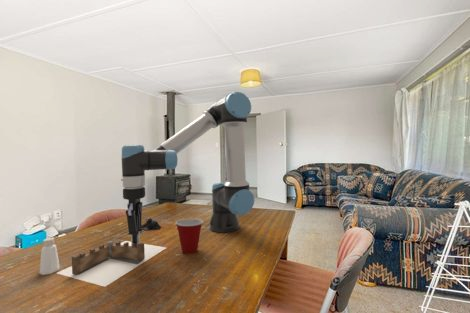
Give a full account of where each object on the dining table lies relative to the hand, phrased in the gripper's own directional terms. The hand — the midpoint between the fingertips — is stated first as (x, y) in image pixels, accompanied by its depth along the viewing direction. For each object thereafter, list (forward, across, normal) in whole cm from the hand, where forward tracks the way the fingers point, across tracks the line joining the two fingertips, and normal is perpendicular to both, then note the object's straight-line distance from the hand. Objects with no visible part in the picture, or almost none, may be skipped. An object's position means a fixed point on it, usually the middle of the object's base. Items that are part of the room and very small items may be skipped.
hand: (136, 250), depth 84 cm
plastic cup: (+3, -3, +20) cm, 20 cm away
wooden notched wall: (+2, 0, -4) cm, 4 cm away
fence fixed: (+2, +4, -13) cm, 14 cm away
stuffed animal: (+4, -32, -3) cm, 33 cm away
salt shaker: (+3, +4, -26) cm, 27 cm away
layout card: (+3, 0, -6) cm, 7 cm away
